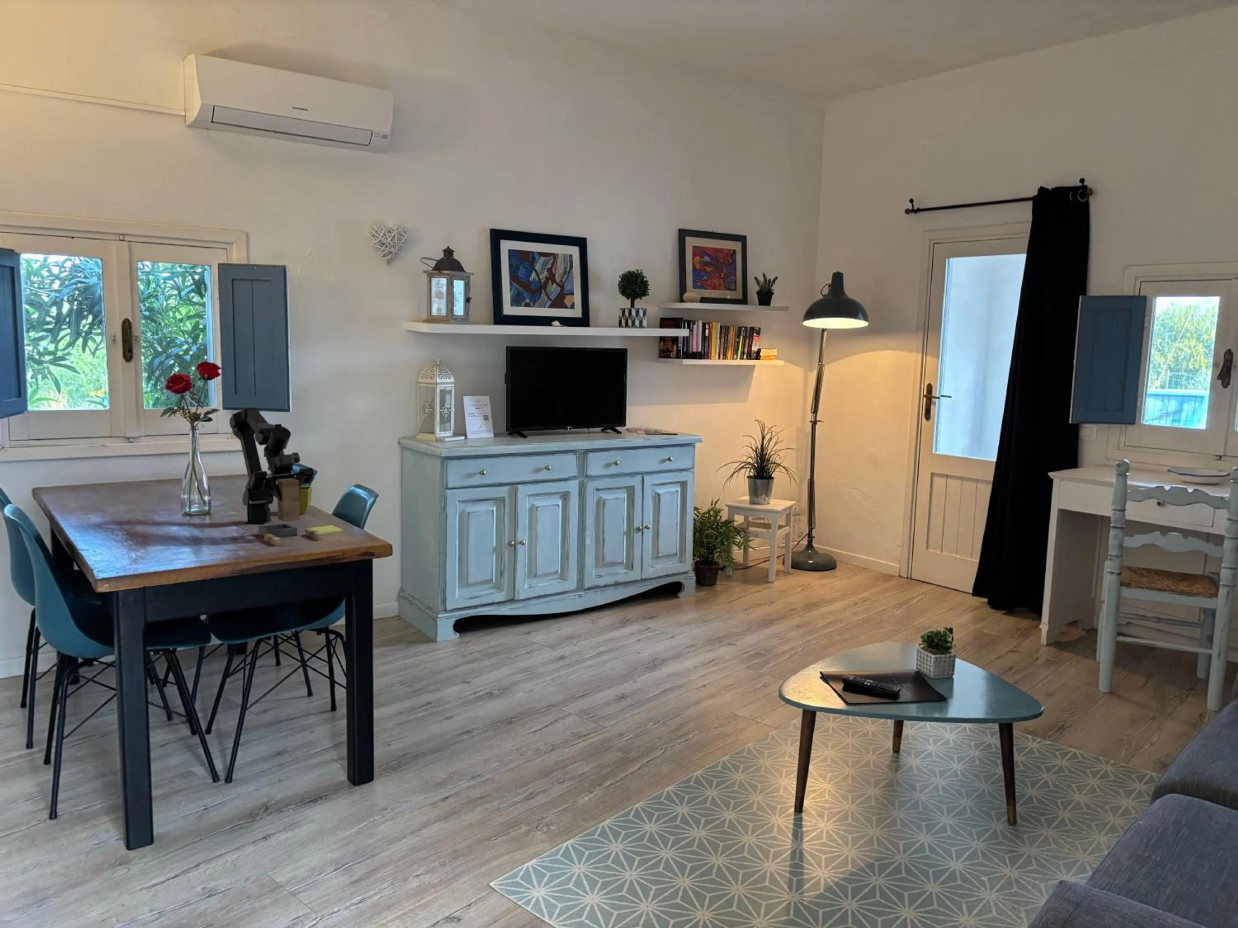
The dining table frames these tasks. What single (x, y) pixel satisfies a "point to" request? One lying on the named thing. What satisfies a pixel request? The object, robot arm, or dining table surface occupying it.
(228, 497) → the dining table surface
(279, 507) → the walnut block
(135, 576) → the dining table surface
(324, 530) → the pad
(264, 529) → the charcoal tray
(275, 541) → the brown lane walls
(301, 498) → the flower pot
